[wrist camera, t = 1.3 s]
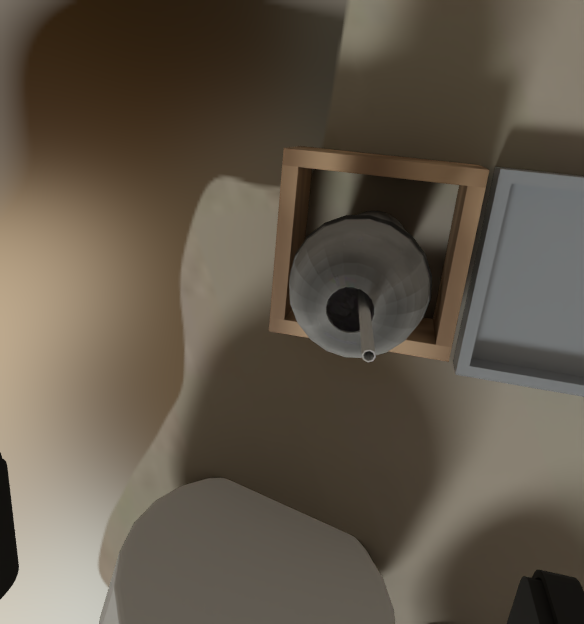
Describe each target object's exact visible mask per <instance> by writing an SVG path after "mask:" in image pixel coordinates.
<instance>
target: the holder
mask: <svg viewBox="0 0 584 624" xmlns="http://www.w3.org/2000/svg"><path fill="white" fill-rule="evenodd" d="M312 168H313V169H322V170H331V171H339V172H348V173H357V174H366V175H375V176H384V177H393V178H402V179H411V180H419V181H428V182H437V183H446V184H455V185H459V189H458V194H457V199H456V205H455V210H454V215H453V220H452V225H451V230H450V235H449V240H448V245H447V250H446V256H445V261H444V266H443V271H442V276H441V281H440V286H439V291H438V296H437V302H436V307H435V312H434V317H433V319H428V318H423V319H422V320H421V321H420V323H419V324H418V326H417V327H416V328H415V329H414V330H413V332H412V333H411V334H410V335H409V336H408V337H407V339H406V340H405V341H404V342H403V343H401V344H399V345H398V346H396V347H394V348H393V349H391V350H390V351H388V352H394V353H400V354H406V355H412V356H418V357H424V358H430V359H436V360H442V361H448V362H449V358H450V353H451V348H452V344H453V339H454V334H455V329H456V325H457V320H458V315H459V311H460V306H461V301H462V297H463V292H464V287H465V283H466V278H467V273H468V268H469V264H470V259H471V254H472V250H473V245H474V240H475V236H476V231H477V226H478V222H479V217H480V212H481V207H482V203H483V198H484V193H485V189H486V184H487V179H488V175H489V169H486V168H484V167H482V166H480V165H475V164H466V163H456V162H447V161H437V160H428V159H418V158H409V157H399V156H390V155H380V154H371V153H361V152H352V151H342V150H333V149H323V148H314V147H304V146H297V147H289V148H284V151H283V163H282V175H281V187H280V199H279V212H278V224H277V236H276V248H275V260H274V273H273V285H272V297H271V309H270V321H269V331H270V332H276V333H282V334H288V335H294V336H300V337H306V338H309V337H308V336H307V334H306V333H305V332H304V331H303V329H302V328H301V327H300V325H299V324H298V323H297V320H296V318H295V315H294V312H293V310H292V307H291V304H290V290H289V279H290V271H291V268H292V264H293V260H294V257H295V254H296V252H297V251H298V249H299V248H300V246H301V245H302V243H303V242H304V240H305V236H306V226H307V216H308V206H309V196H310V186H311V176H312Z"/></svg>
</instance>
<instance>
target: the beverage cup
mask: <svg viewBox="0 0 584 624" xmlns="http://www.w3.org/2000/svg"><path fill="white" fill-rule="evenodd" d="M431 287H432V275H431V271H430V268H429V265H428V261H427V258H426V255H425V253H424V252H423V250H422V249H421V248H420V246H419V245H418V244H417V242H416V241H415V239H414V238H413V237H412V235H410V234H409V233H407V232H406V230H405V229H404V228H403V226H402V225H401V223H400V222H399V221H398V220H397V219H395V218H394V217H393V216H391V215H390V214H387V213H384V212H381V211H369V212H364V213H361V214H358V215H346V216H343V217H340V218H337V219H334V220H332V221H329V222H326V223H324V224H323V225H321V226H320V227H319V228H317V229H316V230H315V231H314V232H312V233H311V234H310V235H308V236H307V238H306V239H305V240H304V242H303V243H302V245H301V246H300V248H299V249H298V251H297V252H296V254H295V257H294V260H293V264H292V268H291V271H290V279H289V290H290V304H291V307H292V310H293V312H294V315H295V318H296V320H297V323H298V324H299V325H300V327H301V328H302V329H303V331H304V332H305V333H306V334H307V336H308V337H309V338H310V340H312V341H313V342H315V343H316V344H318V345H319V346H320V347H322V348H323V349H325V350H326V351H329V352H331V353H334V354H337V355H340V356H343V357H353V358H363V360H364V361H366V362H372V361H373V360H374V359H375V357H376V355H379V354H383V353H386V352H388V351H390V350H391V349H393V348H394V347H396V346H398V345H399V344H401V343H403V342H404V341H405V340H406V339H407V337H408V336H409V335H410V334H411V333H412V332H413V330H414V329H415V328H416V327H417V326H418V324H419V323H420V321H421V320H422V319H423V317H424V315H425V312H426V310H427V307H428V305H429V302H430V299H431Z"/></svg>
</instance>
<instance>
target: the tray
mask: <svg viewBox="0 0 584 624" xmlns="http://www.w3.org/2000/svg"><path fill="white" fill-rule="evenodd" d="M453 363H454V369H455V374H456V375H462V376H467V377H473V378H479V379H485V380H490V381H496V382H502V383H508V384H514V385H519V386H525V387H531V388H537V389H542V390H548V391H554V392H560V393H566V394H571V395H577V396H583V397H584V176H579V175H570V174H560V173H551V172H541V171H532V170H523V169H513V168H504V167H495V170H494V175H493V179H492V184H491V188H490V193H489V198H488V202H487V207H486V212H485V216H484V221H483V225H482V230H481V235H480V239H479V244H478V249H477V253H476V258H475V262H474V267H473V272H472V276H471V281H470V286H469V290H468V295H467V299H466V304H465V309H464V313H463V318H462V323H461V327H460V332H459V336H458V341H457V346H456V350H455V355H454V360H453Z"/></svg>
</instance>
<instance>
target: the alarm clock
mask: <svg viewBox="0 0 584 624" xmlns="http://www.w3.org/2000/svg"><path fill="white" fill-rule="evenodd" d="M99 624H395V616H394V609H393V606H392V603H391V600H390V597H389V594H388V592H387V589H386V586H385V583H384V580H383V577H382V576H381V574H380V572H379V571H378V569H377V567H376V566H375V564H374V562H373V561H372V559H371V557H370V556H369V554H368V552H367V551H366V549H365V548H364V547H363V546H362V545H361V543H360V542H359V541H358V540H357V539H356V538H355V537H354V536H352V535H350V534H348V533H345V532H343V531H341V530H339V529H337V528H334V527H332V526H330V525H328V524H326V523H323V522H321V521H319V520H317V519H315V518H312V517H310V516H308V515H306V514H303V513H301V512H299V511H297V510H295V509H292V508H290V507H288V506H286V505H284V504H281V503H279V502H277V501H275V500H272V499H270V498H268V497H266V496H264V495H261V494H259V493H257V492H255V491H253V490H250V489H248V488H246V487H244V486H242V485H239V484H237V483H235V482H233V481H230V480H228V479H226V478H208V479H204V480H201V481H197V482H193V483H190V484H186V485H183V486H180V487H178V488H177V489H175V490H173V491H171V492H170V493H168V494H166V495H165V496H163V497H161V498H159V499H158V500H156V501H155V502H154V503H153V504H152V505H151V506H150V507H149V508H148V509H147V510H146V511H145V512H144V513H143V514H142V515H141V516H140V517H139V518H138V519H137V520H136V521H135V522H134V524H133V526H132V528H131V530H130V532H129V534H128V536H127V538H126V540H125V542H124V544H123V546H122V548H121V550H120V552H119V555H118V559H117V562H116V565H115V569H114V572H113V576H112V579H111V582H110V586H109V589H108V592H107V596H106V599H105V602H104V606H103V609H102V612H101V616H100V621H99Z"/></svg>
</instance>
